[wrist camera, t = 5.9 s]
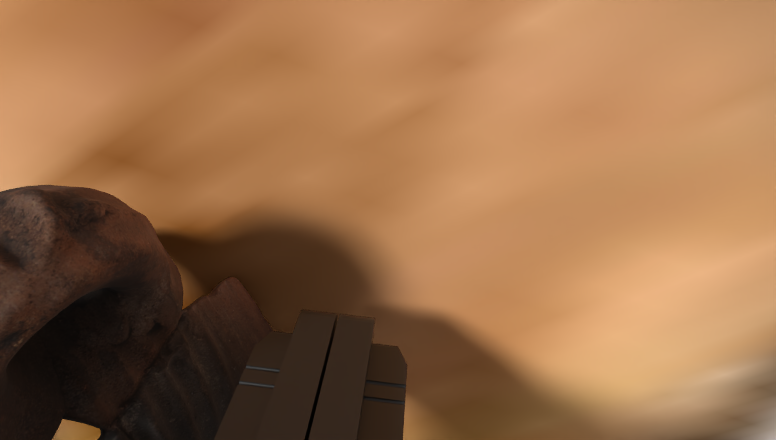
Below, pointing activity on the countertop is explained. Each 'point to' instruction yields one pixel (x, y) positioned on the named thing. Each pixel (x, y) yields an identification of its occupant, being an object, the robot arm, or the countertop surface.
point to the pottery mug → (110, 324)
